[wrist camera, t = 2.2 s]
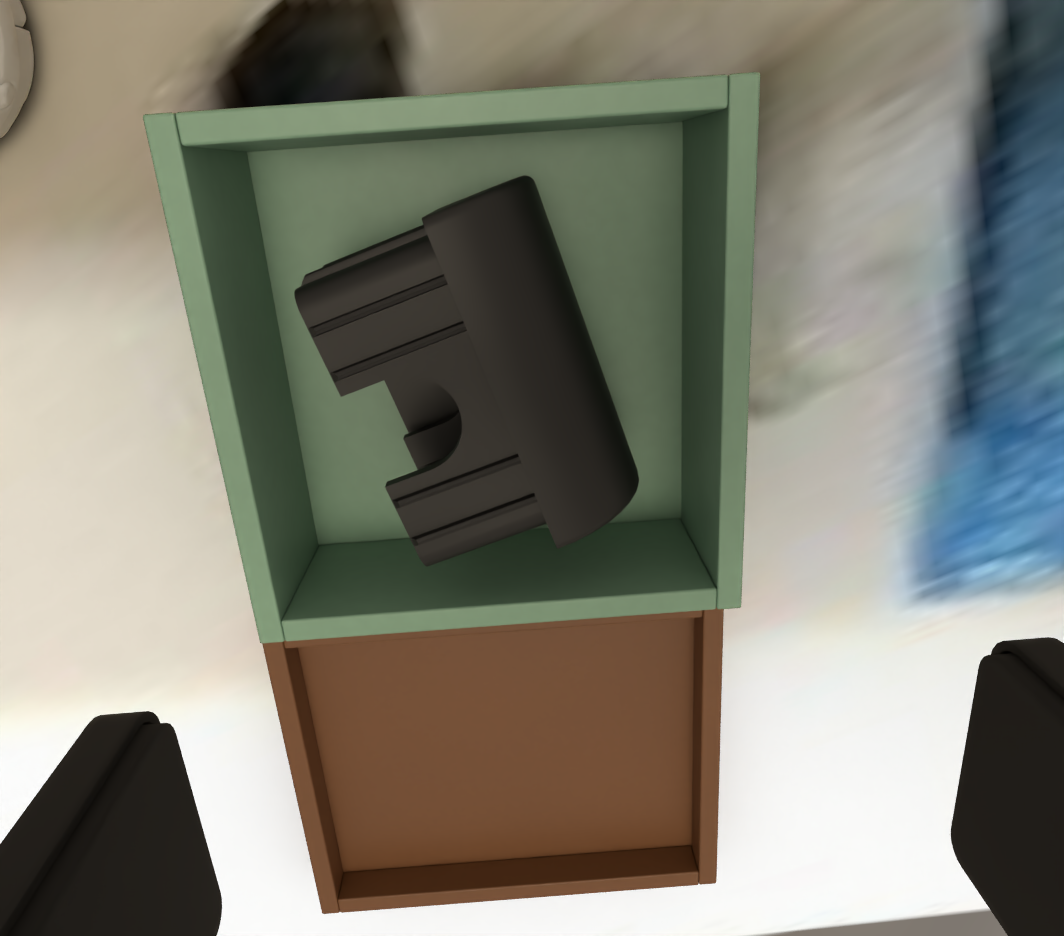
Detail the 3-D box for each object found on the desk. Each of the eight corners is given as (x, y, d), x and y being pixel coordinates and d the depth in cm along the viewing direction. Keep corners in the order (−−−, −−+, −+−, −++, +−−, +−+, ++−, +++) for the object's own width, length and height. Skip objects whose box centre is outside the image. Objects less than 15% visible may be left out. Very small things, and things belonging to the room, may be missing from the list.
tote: (705, 93, 25) (761, 71, 20) (699, 531, 31) (741, 608, 25) (219, 127, 25) (140, 114, 19) (303, 560, 30) (259, 644, 25)
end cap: (623, 441, 29) (658, 517, 22) (447, 506, 29) (431, 597, 23) (527, 171, 25) (535, 171, 19) (330, 252, 26) (274, 277, 20)
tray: (711, 573, 31) (724, 598, 29) (705, 847, 36) (716, 884, 35) (273, 605, 31) (259, 633, 29) (331, 876, 36) (321, 914, 34)
